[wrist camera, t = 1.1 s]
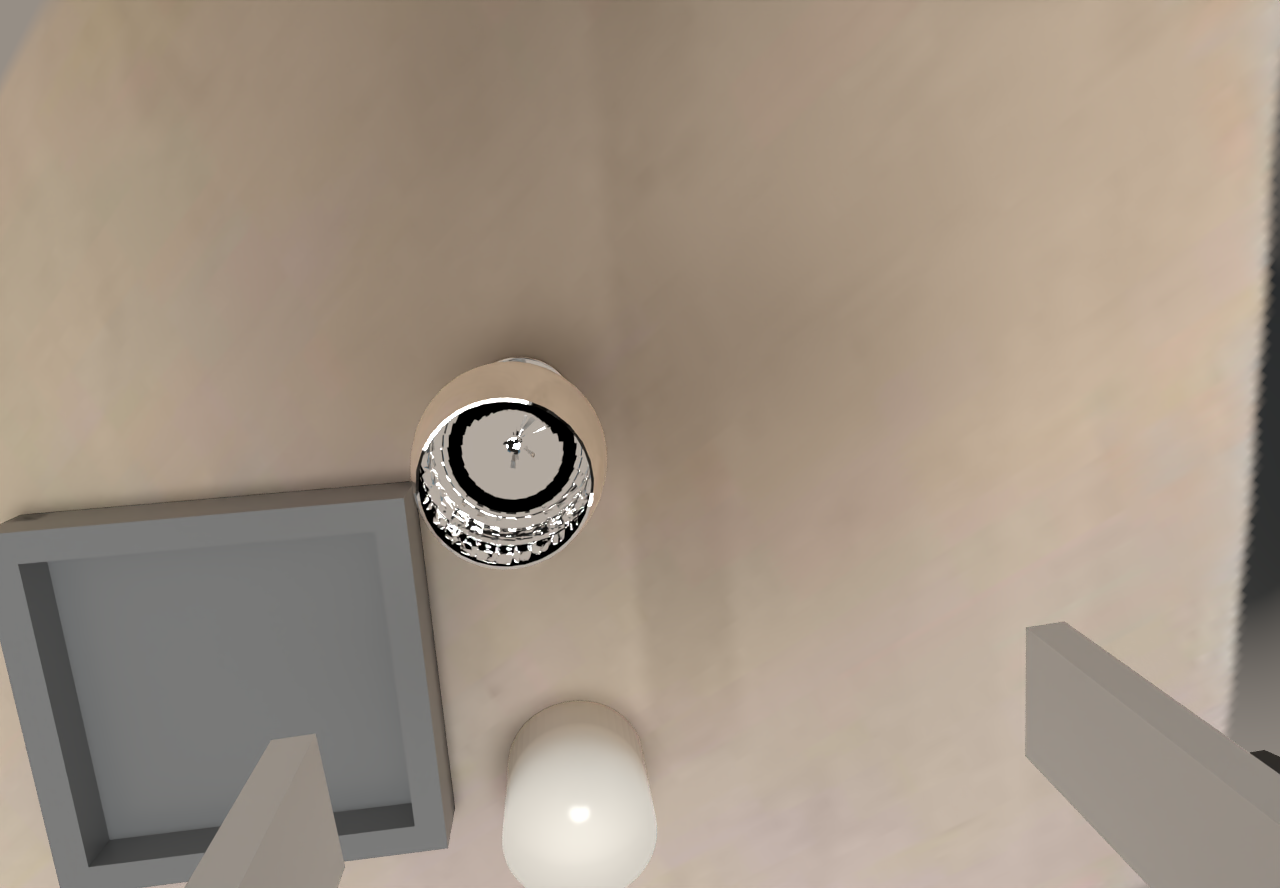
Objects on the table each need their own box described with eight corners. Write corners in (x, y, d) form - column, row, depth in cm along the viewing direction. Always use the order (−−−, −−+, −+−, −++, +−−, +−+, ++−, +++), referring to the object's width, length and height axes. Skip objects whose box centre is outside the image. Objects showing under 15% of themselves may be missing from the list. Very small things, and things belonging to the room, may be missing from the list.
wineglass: (420, 433, 33) (350, 520, 21) (496, 311, 32) (467, 332, 20) (543, 505, 34) (541, 626, 22) (618, 389, 33) (657, 451, 22)
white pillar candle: (501, 708, 36) (494, 776, 31) (638, 692, 36) (652, 758, 31) (515, 829, 37) (510, 913, 32) (646, 812, 37) (661, 893, 33)
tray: (20, 514, 32) (-26, 535, 29) (414, 481, 33) (403, 497, 31) (97, 852, 35) (62, 897, 32) (454, 808, 36) (447, 848, 34)
